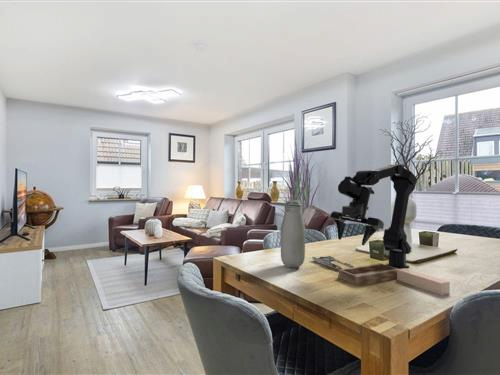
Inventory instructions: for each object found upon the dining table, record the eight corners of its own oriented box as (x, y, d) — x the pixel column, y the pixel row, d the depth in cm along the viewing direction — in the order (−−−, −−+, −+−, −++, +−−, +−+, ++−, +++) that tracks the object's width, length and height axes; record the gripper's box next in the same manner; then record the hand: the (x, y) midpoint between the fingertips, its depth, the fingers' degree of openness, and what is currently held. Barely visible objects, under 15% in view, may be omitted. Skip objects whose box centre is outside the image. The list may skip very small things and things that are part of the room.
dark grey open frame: (344, 275, 113) (364, 272, 117) (344, 266, 114) (364, 264, 117) (311, 262, 133) (329, 260, 137) (311, 255, 134) (329, 253, 137)
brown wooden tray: (379, 270, 118) (379, 262, 118) (401, 277, 109) (401, 269, 109) (338, 277, 109) (338, 269, 109) (358, 286, 100) (358, 277, 100)
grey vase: (289, 271, 117) (289, 201, 117) (276, 265, 126) (276, 199, 126) (309, 268, 121) (309, 200, 121) (296, 262, 130) (296, 199, 130)
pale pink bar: (397, 280, 107) (397, 269, 107) (404, 279, 108) (404, 268, 108) (441, 296, 92) (441, 283, 92) (449, 294, 94) (449, 281, 94)
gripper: (328, 193, 113) (318, 232, 110) (376, 198, 99) (366, 244, 97) (341, 201, 120) (332, 238, 118) (388, 207, 107) (379, 249, 105)
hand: (350, 242), depth 109 cm, fingers open, 9 cm apart
